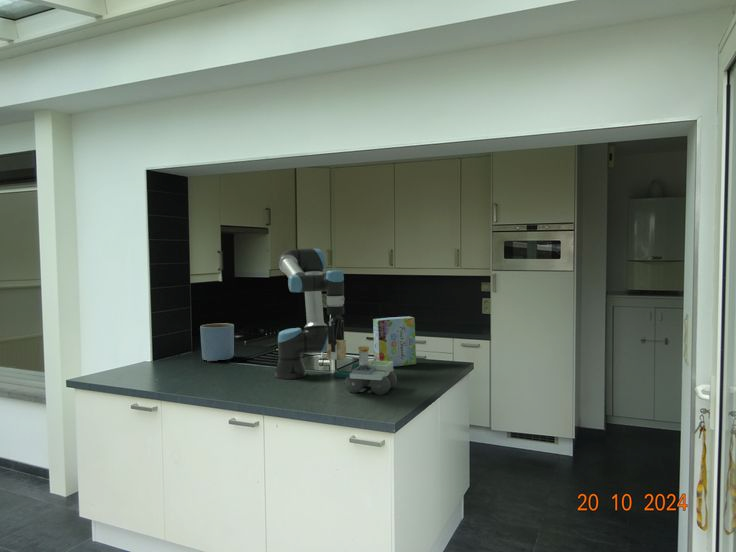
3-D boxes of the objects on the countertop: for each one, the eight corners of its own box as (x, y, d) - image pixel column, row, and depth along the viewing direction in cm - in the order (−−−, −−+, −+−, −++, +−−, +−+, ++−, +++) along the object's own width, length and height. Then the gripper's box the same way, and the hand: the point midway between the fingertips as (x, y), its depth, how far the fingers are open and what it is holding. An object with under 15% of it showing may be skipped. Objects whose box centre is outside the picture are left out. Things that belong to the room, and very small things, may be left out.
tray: (362, 370, 241) (362, 364, 241) (370, 365, 251) (370, 360, 251) (386, 371, 238) (386, 365, 238) (393, 366, 247) (393, 361, 247)
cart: (342, 393, 236) (342, 369, 236) (357, 384, 253) (357, 361, 253) (386, 397, 230) (386, 372, 229) (398, 386, 247) (398, 363, 246)
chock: (327, 359, 240) (326, 341, 240) (331, 357, 245) (331, 339, 244) (341, 360, 237) (341, 341, 237) (346, 357, 242) (345, 340, 242)
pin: (357, 373, 236) (356, 347, 235) (360, 370, 240) (360, 346, 239) (367, 373, 234) (366, 348, 234) (370, 371, 238) (370, 346, 238)
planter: (204, 356, 328) (203, 323, 327) (236, 355, 330) (235, 322, 329) (198, 363, 309) (197, 328, 308) (232, 361, 311) (231, 327, 310)
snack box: (409, 362, 302) (409, 315, 301) (416, 364, 294) (416, 317, 293) (373, 365, 294) (372, 318, 293) (379, 368, 286) (378, 319, 285)
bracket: (370, 377, 267) (370, 361, 267) (363, 380, 261) (363, 364, 261) (339, 374, 276) (338, 358, 275) (331, 377, 270) (331, 361, 269)
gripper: (335, 307, 230) (336, 362, 231) (351, 303, 247) (352, 354, 248) (319, 307, 233) (320, 361, 234) (335, 303, 250) (336, 353, 251)
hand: (336, 357), depth 241 cm, fingers closed on chock, 5 cm apart
